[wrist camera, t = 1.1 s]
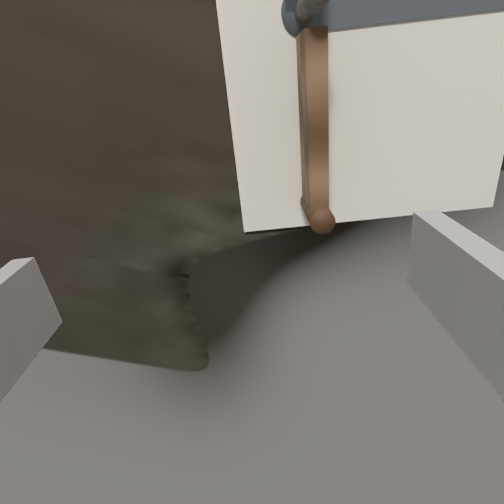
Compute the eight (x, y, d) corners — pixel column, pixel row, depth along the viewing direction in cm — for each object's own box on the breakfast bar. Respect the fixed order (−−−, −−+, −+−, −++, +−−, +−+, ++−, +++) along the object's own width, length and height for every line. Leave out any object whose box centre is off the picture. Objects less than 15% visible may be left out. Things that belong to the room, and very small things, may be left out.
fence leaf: (293, 37, 24) (304, 25, 20) (318, 34, 24) (336, 21, 19) (300, 212, 30) (310, 235, 25) (321, 209, 30) (335, 233, 25)
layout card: (244, 230, 31) (244, 232, 31) (187, -233, 19) (186, -241, 19) (489, 205, 31) (493, 207, 30) (591, -291, 19) (601, -301, 18)
